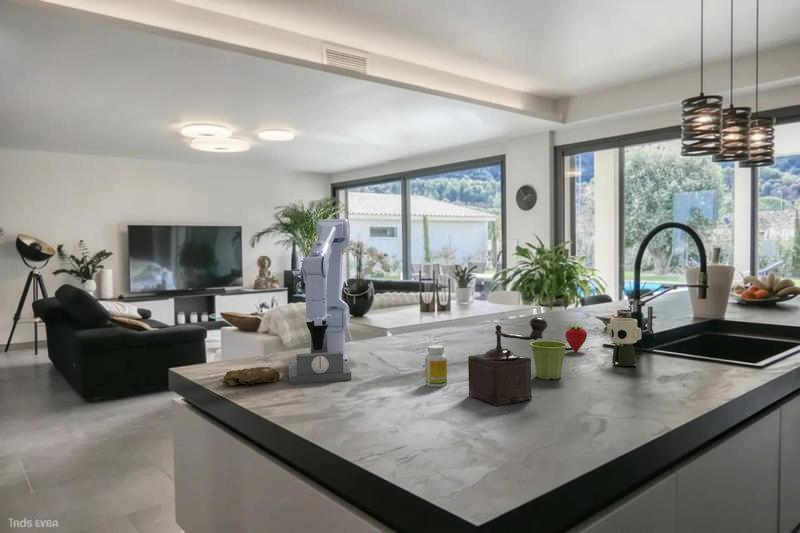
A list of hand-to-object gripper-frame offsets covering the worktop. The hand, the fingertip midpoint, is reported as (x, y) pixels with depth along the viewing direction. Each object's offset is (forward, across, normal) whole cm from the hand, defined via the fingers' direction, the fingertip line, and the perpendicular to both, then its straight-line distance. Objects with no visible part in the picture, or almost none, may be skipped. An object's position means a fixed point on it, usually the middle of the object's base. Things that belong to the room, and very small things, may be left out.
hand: (317, 348), depth 152 cm
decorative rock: (+7, -6, +18) cm, 20 cm away
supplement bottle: (+7, -22, -28) cm, 36 cm away
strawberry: (+7, +5, -82) cm, 82 cm away
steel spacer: (+2, 0, 0) cm, 2 cm away
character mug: (+7, -17, -84) cm, 86 cm away
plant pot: (+7, -23, -58) cm, 63 cm away
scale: (+7, -2, 0) cm, 7 cm away
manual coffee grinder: (+7, -37, -41) cm, 56 cm away
